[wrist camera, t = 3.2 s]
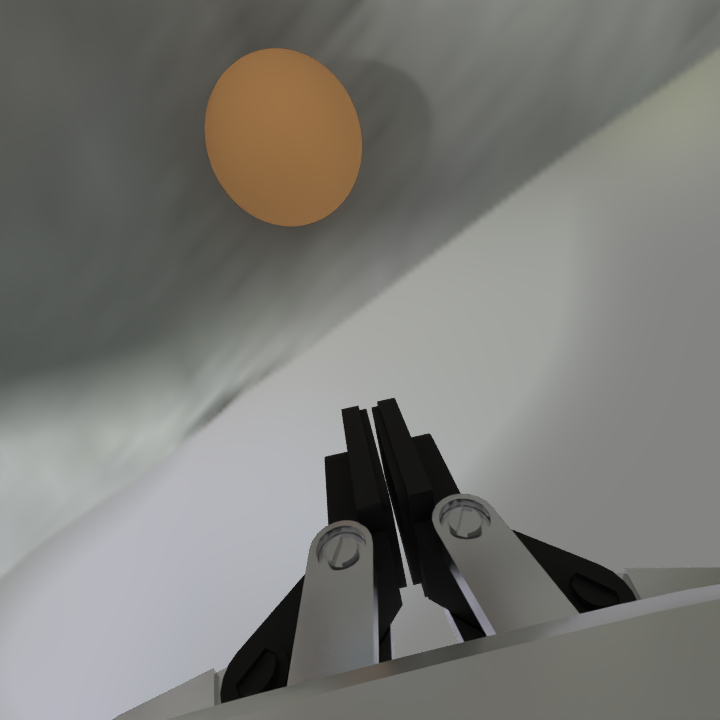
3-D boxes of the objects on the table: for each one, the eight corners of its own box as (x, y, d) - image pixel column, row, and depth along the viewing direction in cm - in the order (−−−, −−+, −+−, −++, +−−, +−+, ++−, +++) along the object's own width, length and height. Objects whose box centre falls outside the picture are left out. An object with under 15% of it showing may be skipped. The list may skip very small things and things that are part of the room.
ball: (243, 232, 19) (221, 248, 13) (201, 88, 16) (152, 35, 11) (361, 208, 19) (387, 215, 14) (338, 64, 17) (357, 1, 11)
